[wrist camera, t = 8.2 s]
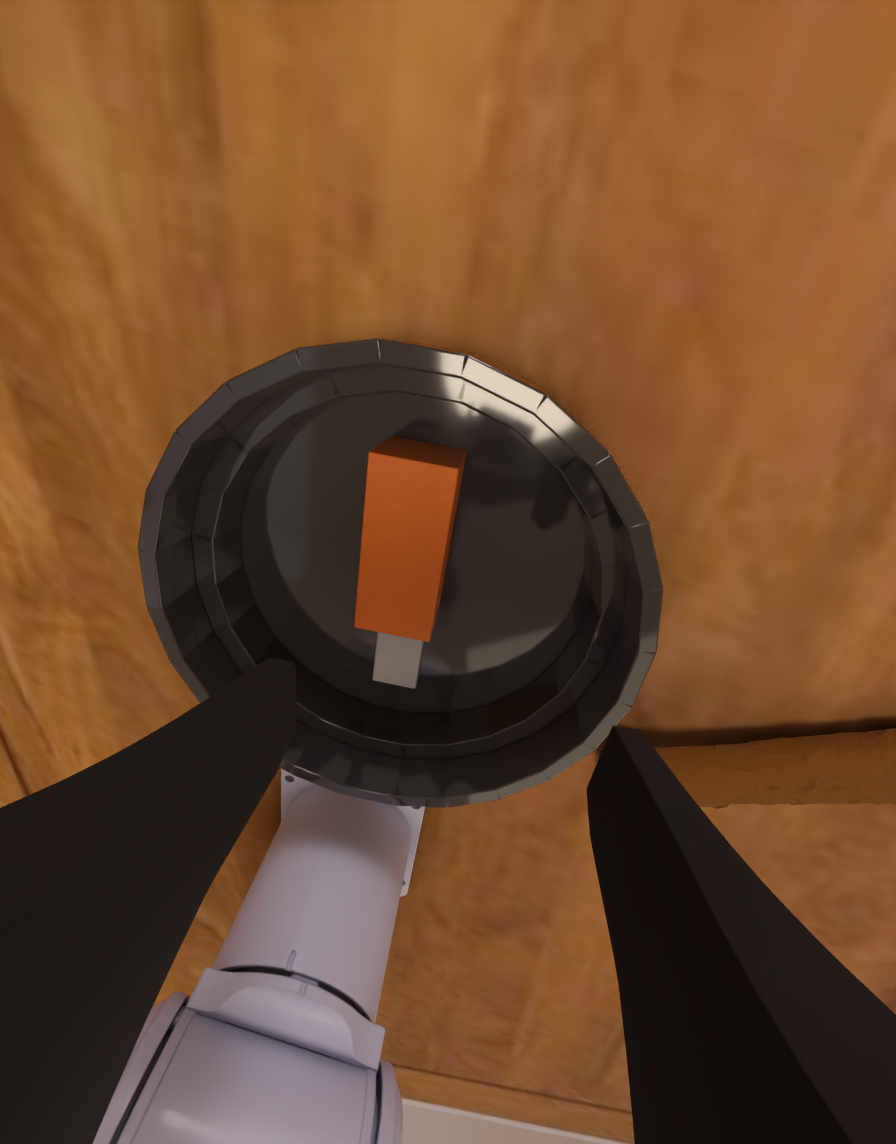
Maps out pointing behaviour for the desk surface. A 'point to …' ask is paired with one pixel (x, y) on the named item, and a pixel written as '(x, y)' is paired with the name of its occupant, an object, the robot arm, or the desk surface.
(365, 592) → the chisel
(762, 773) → the primitive tool
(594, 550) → the bowl
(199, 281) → the desk surface
